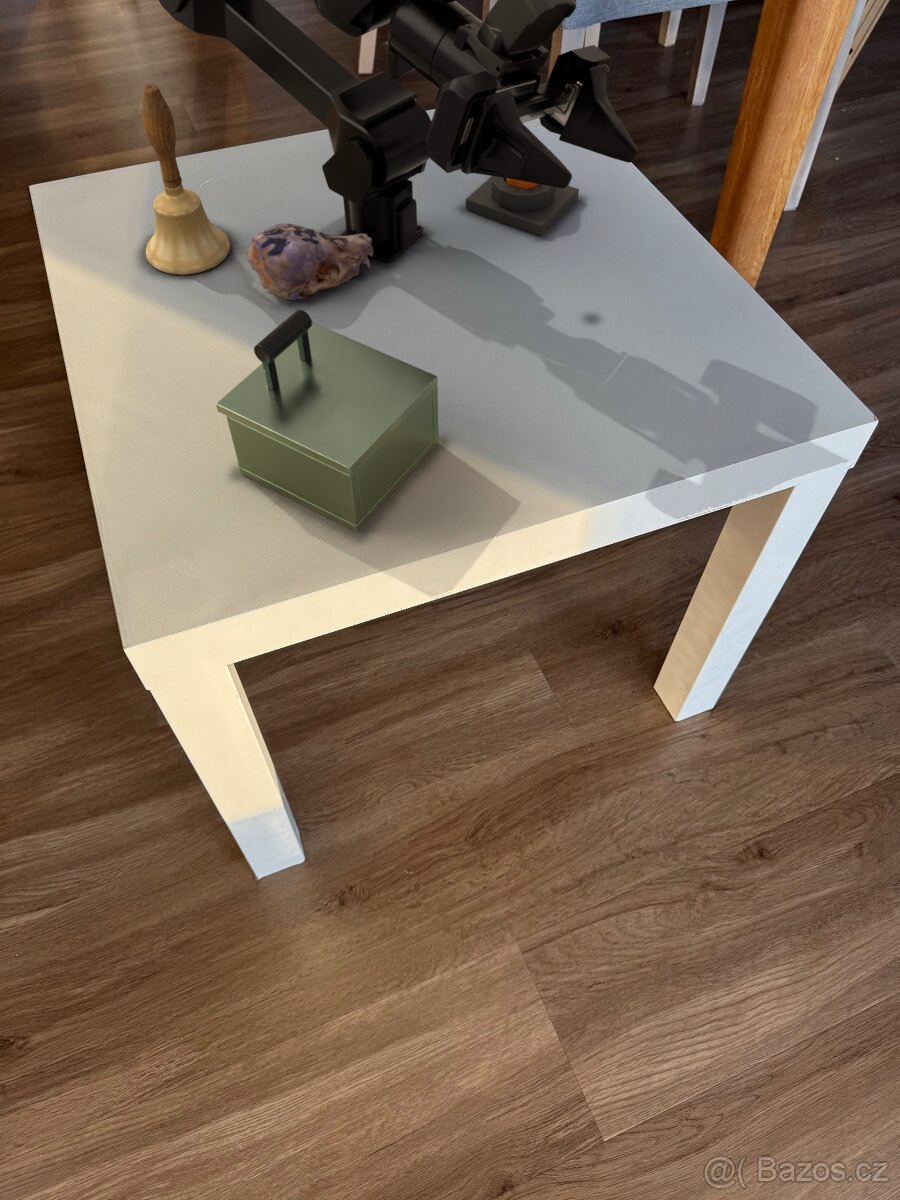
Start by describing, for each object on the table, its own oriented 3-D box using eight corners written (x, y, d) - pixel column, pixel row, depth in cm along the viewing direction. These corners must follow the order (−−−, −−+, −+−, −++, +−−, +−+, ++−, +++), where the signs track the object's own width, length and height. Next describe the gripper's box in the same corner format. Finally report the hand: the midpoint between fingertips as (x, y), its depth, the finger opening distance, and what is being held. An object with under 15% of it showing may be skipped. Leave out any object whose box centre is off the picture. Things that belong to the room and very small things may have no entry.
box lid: (217, 411, 72) (203, 359, 68) (311, 329, 78) (303, 276, 74) (349, 476, 68) (343, 424, 64) (438, 384, 74) (437, 331, 70)
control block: (465, 209, 99) (465, 182, 96) (504, 174, 103) (505, 147, 100) (540, 236, 96) (543, 209, 94) (577, 199, 100) (581, 172, 98)
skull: (367, 240, 95) (361, 188, 89) (386, 294, 91) (381, 243, 86) (249, 264, 93) (235, 213, 88) (263, 320, 90) (250, 270, 85)
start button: (499, 184, 97) (500, 167, 96) (517, 168, 99) (518, 151, 97) (530, 194, 96) (531, 178, 94) (547, 178, 98) (548, 161, 96)
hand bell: (222, 220, 98) (187, 57, 85) (237, 266, 93) (203, 101, 80) (141, 235, 96) (93, 71, 83) (152, 282, 92) (103, 117, 79)
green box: (240, 474, 77) (225, 416, 72) (327, 391, 82) (318, 332, 77) (357, 533, 73) (349, 476, 68) (438, 443, 79) (438, 384, 74)
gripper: (406, -50, 63) (579, 84, 60) (564, -67, 74) (717, 45, 71) (365, 110, 71) (514, 235, 68) (513, 73, 83) (646, 179, 80)
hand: (603, 169), depth 72 cm, fingers open, 9 cm apart
